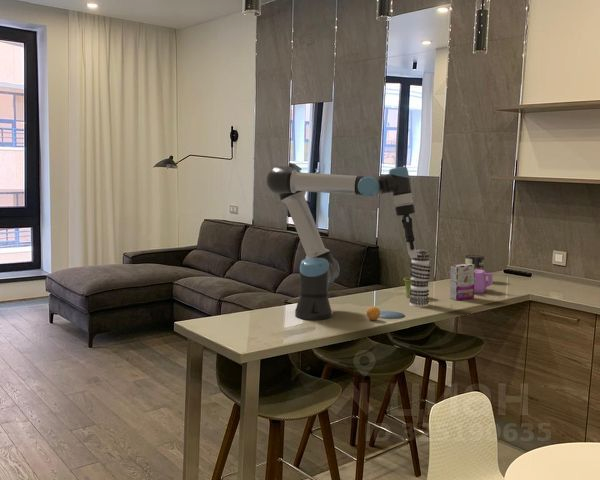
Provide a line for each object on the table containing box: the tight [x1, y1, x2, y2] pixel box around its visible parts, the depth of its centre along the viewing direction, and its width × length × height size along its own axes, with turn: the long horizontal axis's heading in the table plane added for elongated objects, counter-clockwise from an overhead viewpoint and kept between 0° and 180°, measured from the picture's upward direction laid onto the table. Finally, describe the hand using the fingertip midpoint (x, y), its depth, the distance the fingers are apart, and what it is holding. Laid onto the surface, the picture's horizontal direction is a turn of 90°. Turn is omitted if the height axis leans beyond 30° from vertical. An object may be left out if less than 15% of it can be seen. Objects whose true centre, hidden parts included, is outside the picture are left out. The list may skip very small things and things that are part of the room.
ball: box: [366, 306, 380, 321], centre depth 246 cm, size 6×6×6 cm
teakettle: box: [448, 269, 494, 295], centre depth 312 cm, size 17×17×12 cm
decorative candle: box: [408, 248, 432, 308], centre depth 275 cm, size 9×9×25 cm
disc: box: [379, 310, 406, 320], centre depth 255 cm, size 13×13×1 cm
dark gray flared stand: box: [464, 254, 485, 271], centre depth 341 cm, size 10×10×14 cm
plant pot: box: [403, 277, 411, 299], centre depth 294 cm, size 9×9×9 cm
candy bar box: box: [449, 263, 475, 301], centre depth 291 cm, size 11×5×16 cm, turn 117°
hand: (412, 256), depth 250 cm, fingers open, 13 cm apart
